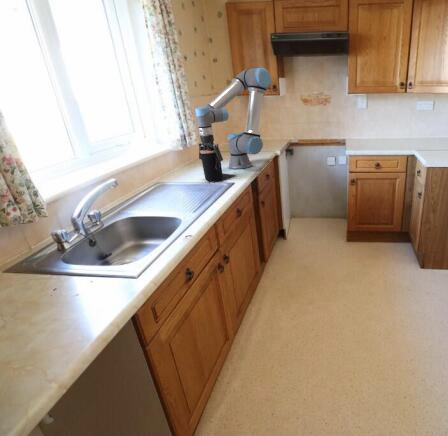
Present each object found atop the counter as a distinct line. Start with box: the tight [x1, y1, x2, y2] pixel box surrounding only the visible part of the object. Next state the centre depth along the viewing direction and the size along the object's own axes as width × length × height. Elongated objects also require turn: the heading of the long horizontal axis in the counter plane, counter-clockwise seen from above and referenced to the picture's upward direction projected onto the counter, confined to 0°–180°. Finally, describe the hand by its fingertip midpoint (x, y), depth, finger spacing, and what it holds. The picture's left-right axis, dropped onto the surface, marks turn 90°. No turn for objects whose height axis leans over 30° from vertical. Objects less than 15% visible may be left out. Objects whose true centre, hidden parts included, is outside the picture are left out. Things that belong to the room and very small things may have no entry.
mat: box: [217, 173, 236, 182], centre depth 205 cm, size 13×13×1 cm
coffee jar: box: [200, 150, 224, 182], centre depth 196 cm, size 11×11×18 cm
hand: (213, 171), depth 197 cm, fingers closed on coffee jar, 11 cm apart
